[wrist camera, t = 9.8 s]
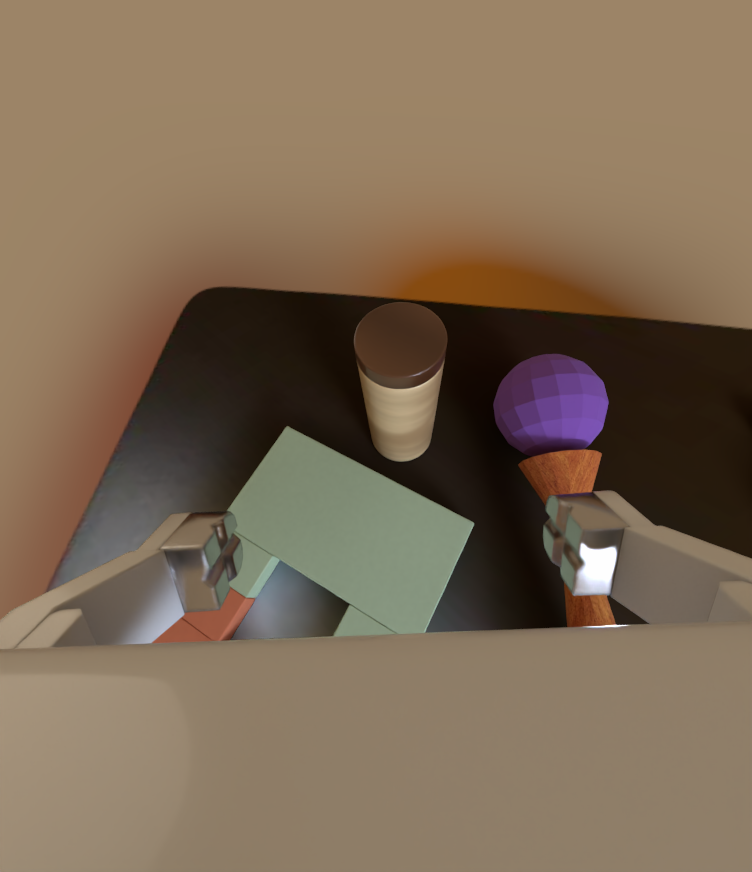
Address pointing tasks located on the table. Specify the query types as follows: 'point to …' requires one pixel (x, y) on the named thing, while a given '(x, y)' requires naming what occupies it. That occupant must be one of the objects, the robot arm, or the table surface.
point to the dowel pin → (400, 376)
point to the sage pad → (347, 536)
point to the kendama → (557, 442)
